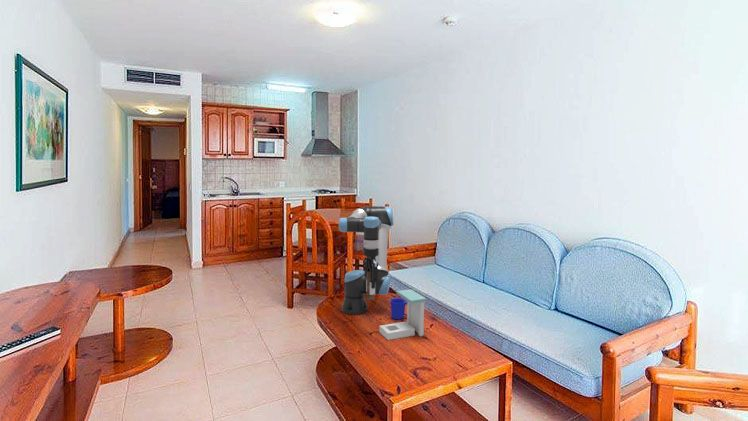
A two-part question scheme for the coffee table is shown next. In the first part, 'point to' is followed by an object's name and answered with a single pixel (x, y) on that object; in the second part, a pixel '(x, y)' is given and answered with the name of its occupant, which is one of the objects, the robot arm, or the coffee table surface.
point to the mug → (398, 308)
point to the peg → (369, 297)
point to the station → (413, 318)
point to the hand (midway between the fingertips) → (370, 292)
